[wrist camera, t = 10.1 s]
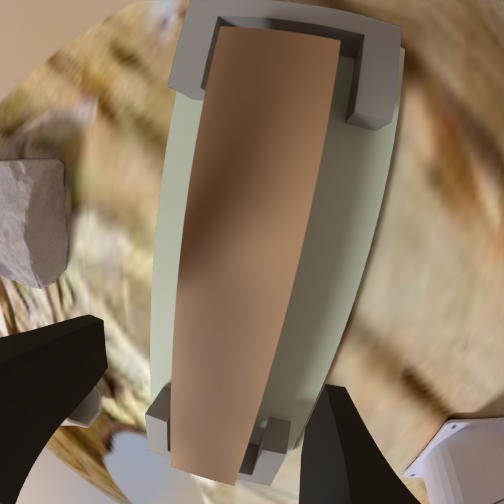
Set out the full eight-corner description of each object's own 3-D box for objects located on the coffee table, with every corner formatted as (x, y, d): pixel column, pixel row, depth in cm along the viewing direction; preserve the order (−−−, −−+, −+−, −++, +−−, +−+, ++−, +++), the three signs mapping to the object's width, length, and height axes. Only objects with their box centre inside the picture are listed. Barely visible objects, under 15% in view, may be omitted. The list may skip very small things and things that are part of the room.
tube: (9, 430, 26) (93, 437, 19) (-19, 408, 24) (42, 403, 16) (20, 403, 31) (109, 389, 23) (-5, 381, 28) (66, 354, 21)
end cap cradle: (399, 55, 12) (423, 25, 8) (287, 452, 20) (282, 490, 16) (201, 24, 13) (173, -7, 9) (157, 416, 21) (137, 448, 18)
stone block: (88, 274, 21) (70, 145, 17) (49, 308, 17) (15, 163, 12) (11, 248, 23) (-6, 152, 19) (-22, 271, 19) (-46, 167, 14)
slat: (330, 81, 12) (340, 40, 8) (249, 431, 19) (234, 485, 14) (248, 68, 13) (220, 26, 8) (195, 416, 19) (170, 466, 14)
